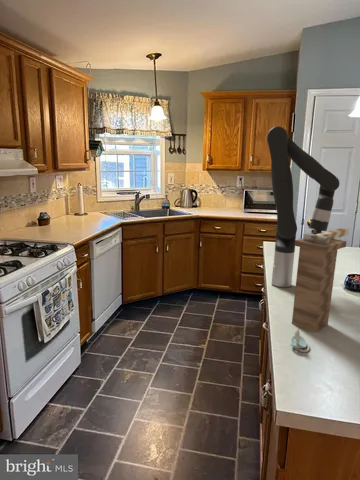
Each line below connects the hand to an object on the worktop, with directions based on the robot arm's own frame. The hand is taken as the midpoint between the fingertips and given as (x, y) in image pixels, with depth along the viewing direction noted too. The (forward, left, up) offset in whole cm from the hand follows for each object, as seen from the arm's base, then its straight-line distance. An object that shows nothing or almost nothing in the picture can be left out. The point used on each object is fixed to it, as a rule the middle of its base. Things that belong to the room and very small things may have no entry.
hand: (311, 253), depth 161 cm
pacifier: (-3, -57, -18) cm, 60 cm away
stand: (+1, -37, -18) cm, 42 cm away
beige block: (+4, -31, +14) cm, 35 cm away
